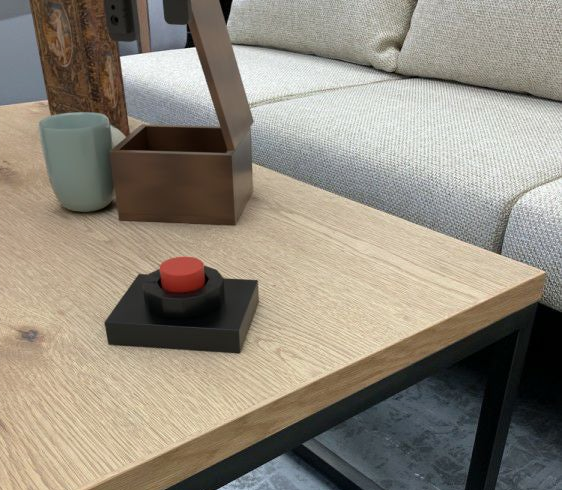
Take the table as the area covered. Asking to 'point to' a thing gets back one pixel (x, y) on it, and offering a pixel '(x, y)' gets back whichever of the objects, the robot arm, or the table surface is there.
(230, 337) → the black button base
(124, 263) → the table surface
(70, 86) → the book
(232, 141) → the lid
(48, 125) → the cup
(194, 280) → the button
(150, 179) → the chest
